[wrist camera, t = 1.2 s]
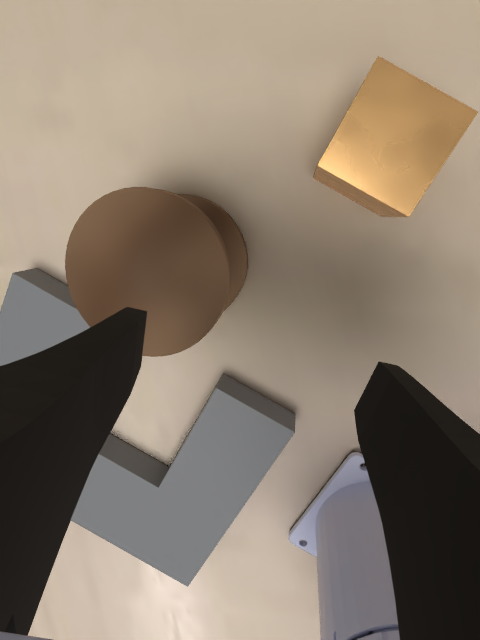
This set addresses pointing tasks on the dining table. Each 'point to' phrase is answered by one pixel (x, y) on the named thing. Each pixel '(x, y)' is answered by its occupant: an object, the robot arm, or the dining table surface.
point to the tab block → (392, 141)
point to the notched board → (141, 469)
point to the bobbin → (156, 264)
